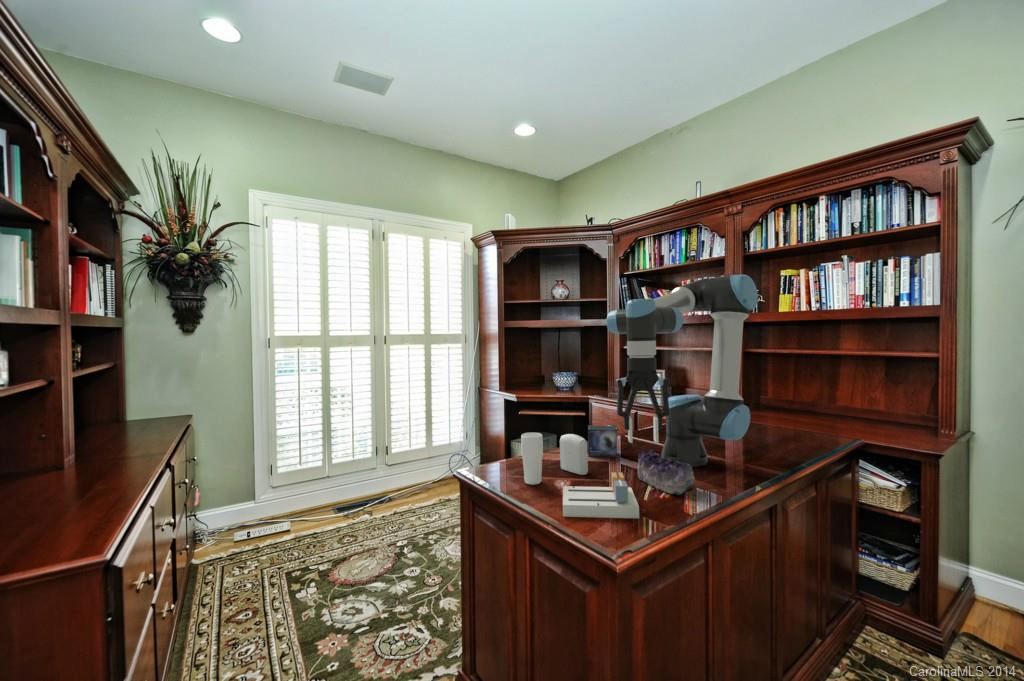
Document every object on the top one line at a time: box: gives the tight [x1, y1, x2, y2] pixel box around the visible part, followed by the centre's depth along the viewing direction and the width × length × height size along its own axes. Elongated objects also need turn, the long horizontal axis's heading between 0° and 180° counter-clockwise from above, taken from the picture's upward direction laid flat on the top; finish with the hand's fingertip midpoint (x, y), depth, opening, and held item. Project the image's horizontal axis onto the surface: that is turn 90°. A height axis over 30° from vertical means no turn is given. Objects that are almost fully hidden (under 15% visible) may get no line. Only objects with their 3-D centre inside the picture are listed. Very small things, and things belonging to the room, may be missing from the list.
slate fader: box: [614, 480, 629, 502], centre depth 111 cm, size 3×4×4 cm
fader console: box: [562, 485, 640, 519], centre depth 115 cm, size 19×13×3 cm
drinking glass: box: [520, 432, 544, 486], centre depth 135 cm, size 7×7×15 cm
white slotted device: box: [559, 433, 589, 476], centre depth 144 cm, size 10×4×12 cm, turn 39°
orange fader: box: [610, 471, 625, 492], centre depth 118 cm, size 3×4×4 cm
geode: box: [636, 448, 696, 496], centre depth 130 cm, size 20×12×10 cm, turn 27°
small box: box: [587, 425, 618, 458], centre depth 162 cm, size 11×6×10 cm, turn 81°
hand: (643, 441), depth 116 cm, fingers open, 6 cm apart
